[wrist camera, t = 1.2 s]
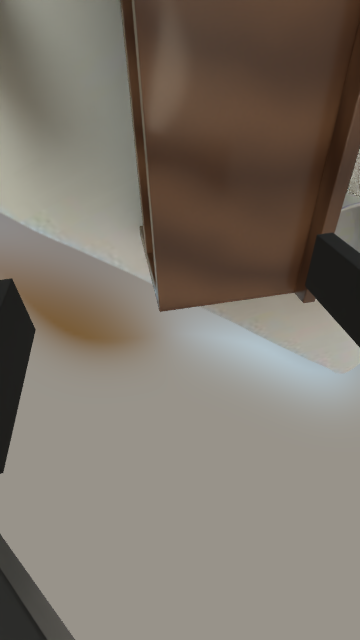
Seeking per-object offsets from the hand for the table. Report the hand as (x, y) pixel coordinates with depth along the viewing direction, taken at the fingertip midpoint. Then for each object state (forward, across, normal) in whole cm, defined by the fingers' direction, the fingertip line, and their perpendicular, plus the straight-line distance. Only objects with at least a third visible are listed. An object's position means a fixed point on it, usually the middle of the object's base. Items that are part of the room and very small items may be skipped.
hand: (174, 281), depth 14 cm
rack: (+22, +6, +2) cm, 22 cm away
